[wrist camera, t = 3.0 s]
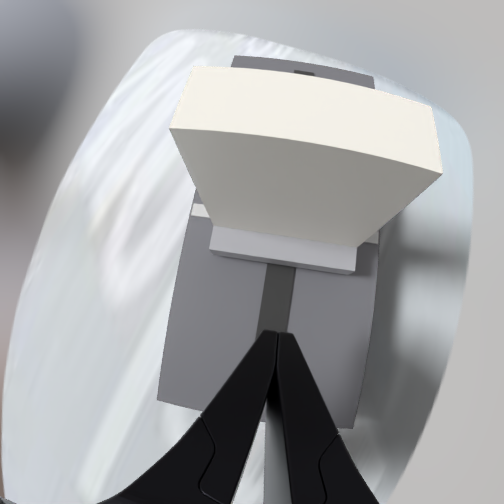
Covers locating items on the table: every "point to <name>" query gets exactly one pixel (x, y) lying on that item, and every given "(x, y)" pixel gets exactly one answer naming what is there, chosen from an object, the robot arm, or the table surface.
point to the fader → (300, 162)
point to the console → (267, 304)
